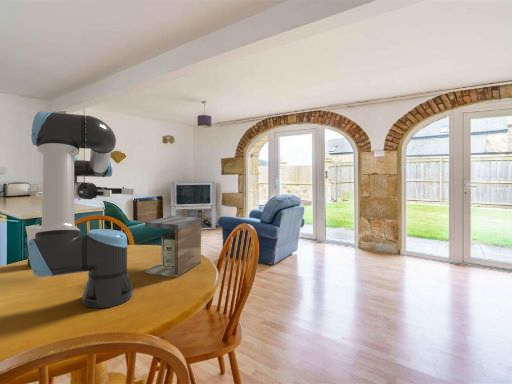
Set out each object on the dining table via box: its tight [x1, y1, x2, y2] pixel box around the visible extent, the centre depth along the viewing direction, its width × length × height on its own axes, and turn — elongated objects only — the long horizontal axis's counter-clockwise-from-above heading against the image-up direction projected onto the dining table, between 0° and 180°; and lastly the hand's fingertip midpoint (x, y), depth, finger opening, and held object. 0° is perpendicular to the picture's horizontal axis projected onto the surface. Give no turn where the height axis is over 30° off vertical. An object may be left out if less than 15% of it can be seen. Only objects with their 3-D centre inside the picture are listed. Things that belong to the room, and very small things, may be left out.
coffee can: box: [160, 232, 175, 269], centre depth 128 cm, size 10×10×14 cm
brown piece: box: [144, 215, 202, 278], centre depth 128 cm, size 16×20×22 cm
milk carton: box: [25, 219, 42, 268], centre depth 127 cm, size 9×9×20 cm
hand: (123, 192), depth 121 cm, fingers open, 13 cm apart
